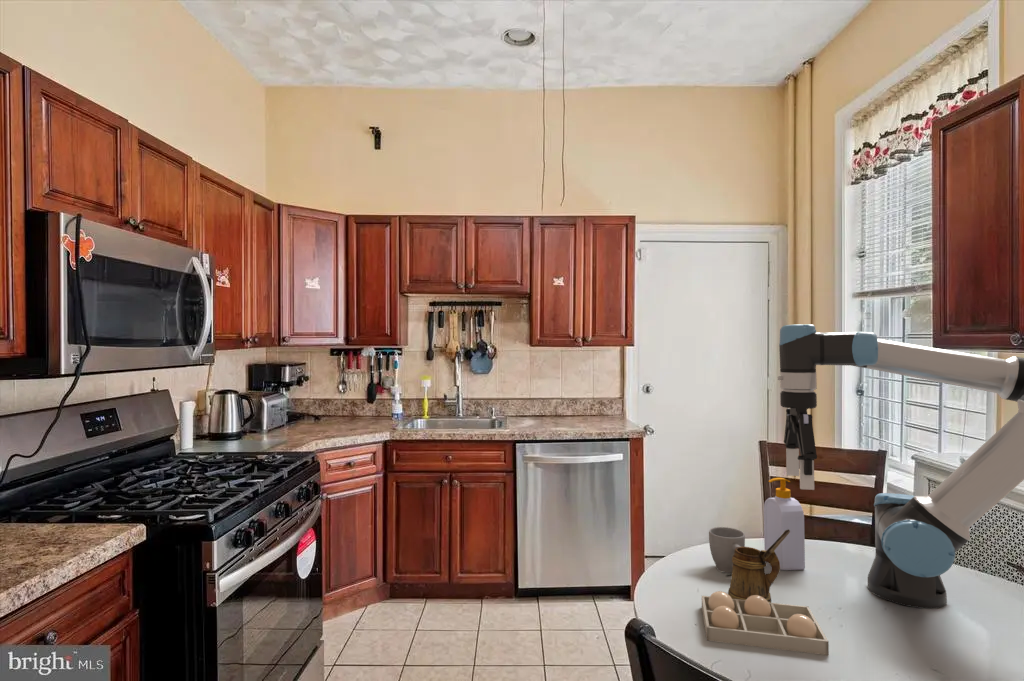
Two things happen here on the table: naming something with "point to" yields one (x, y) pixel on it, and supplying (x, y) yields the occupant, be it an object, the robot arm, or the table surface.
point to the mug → (725, 546)
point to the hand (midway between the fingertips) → (799, 482)
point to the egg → (757, 606)
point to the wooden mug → (754, 571)
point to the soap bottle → (785, 527)
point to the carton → (766, 629)
